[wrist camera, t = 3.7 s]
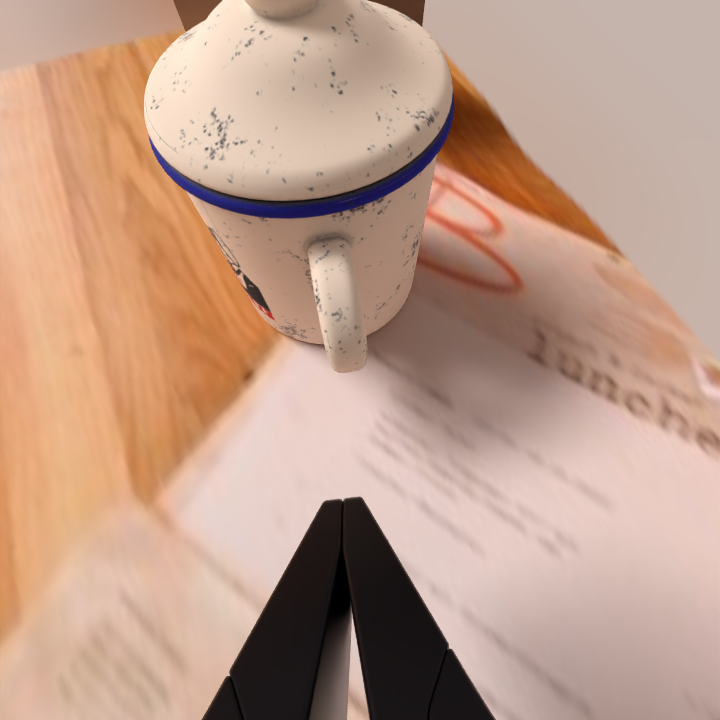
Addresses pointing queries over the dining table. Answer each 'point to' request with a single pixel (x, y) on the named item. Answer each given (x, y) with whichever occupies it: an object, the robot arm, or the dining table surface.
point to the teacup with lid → (307, 155)
